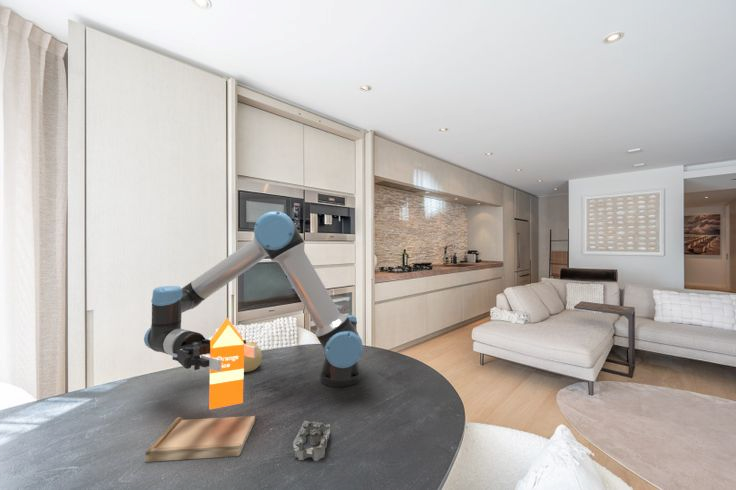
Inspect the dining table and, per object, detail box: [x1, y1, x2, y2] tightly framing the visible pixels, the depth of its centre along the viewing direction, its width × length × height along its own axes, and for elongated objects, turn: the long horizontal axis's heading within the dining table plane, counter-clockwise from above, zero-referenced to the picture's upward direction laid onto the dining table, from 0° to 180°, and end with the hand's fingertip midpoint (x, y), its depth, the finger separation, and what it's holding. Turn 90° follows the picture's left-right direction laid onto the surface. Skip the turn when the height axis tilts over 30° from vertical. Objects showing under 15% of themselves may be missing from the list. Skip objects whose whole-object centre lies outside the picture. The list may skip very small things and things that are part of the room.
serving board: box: [145, 415, 256, 463], centre depth 76 cm, size 20×14×2 cm
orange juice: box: [208, 317, 245, 410], centre depth 79 cm, size 8×9×20 cm
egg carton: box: [292, 419, 331, 462], centre depth 74 cm, size 11×8×4 cm
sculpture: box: [244, 341, 263, 373], centre depth 120 cm, size 12×12×11 cm
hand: (238, 358), depth 77 cm, fingers closed on orange juice, 10 cm apart
